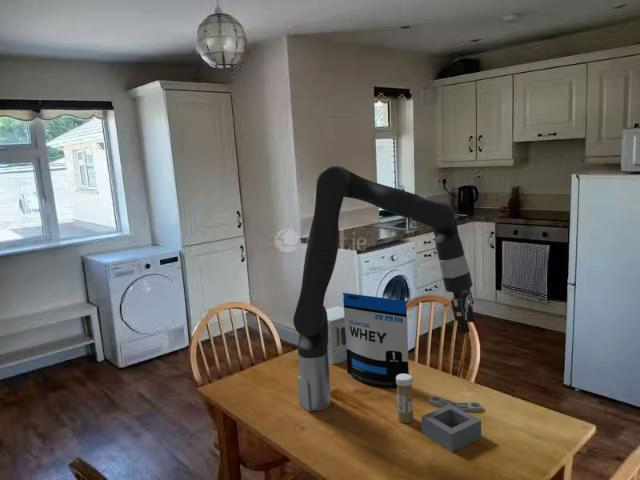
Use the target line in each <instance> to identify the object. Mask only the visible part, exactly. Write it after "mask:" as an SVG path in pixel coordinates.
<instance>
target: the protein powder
mask: <svg viewBox="0 0 640 480" xmlns="http://www.w3.org/2000/svg"><path fill="white" fill-rule="evenodd" d="M342 296H343V297H342V298H343V300H342V301H343V302H342V303H343V308H344V319H345V334H346V347H347V360H346V363H347V364H346V366H347V374H349V375H350V376H351V378H352V379H354V380H355V381H357V382H358V383H361V384H363V385H365V386H369V387H373V388H378V389H389V390H391V389H392V390H397V383H396V376H397V375H399V374H409V375H410V371H409V340H408V339H409V337H408V336H409V335H408V334H409V333H408V312H407V311H408V308H407V300H402V299H401V300H400V299H393V298H386V297H380V296H379V297H378V296H372V295H371V296H370V295H365V294H364V295H363V294H356V293H348V292H342Z"/></svg>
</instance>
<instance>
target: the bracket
mask: <svg viewBox="0 0 640 480" xmlns="http://www.w3.org/2000/svg"><path fill="white" fill-rule="evenodd" d="M428 400H429V404H430V405H432V406H435V407H440V408H442V407H445V406H447V405H449V404H451V405H453V406H455V407H457V408H459V409H461V410H463V411H464V412H473V413H477V412H481V411H482V409H483V406H482V403H479V402H477V401H468V402H457V401H452V400H449V399H446V398H443V397H442V396H438V395H433V396H430V397H429V398H428Z"/></svg>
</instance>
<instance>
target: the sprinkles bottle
mask: <svg viewBox="0 0 640 480" xmlns="http://www.w3.org/2000/svg"><path fill="white" fill-rule="evenodd" d="M396 383H397V389H396V399H397V400H396V402H397V415H398V416H397V421H398V422H400V423H403V424H409V423H412V422H413V421H414V410H413V409H414V405H413V388H412V386H413V376H412V375H411V374H410V373H409V374H399V375H397V376H396Z"/></svg>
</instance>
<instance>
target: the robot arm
mask: <svg viewBox="0 0 640 480" xmlns="http://www.w3.org/2000/svg"><path fill="white" fill-rule="evenodd" d="M315 189H316V190H315V200H314V203H315V204H314V211H313V212H314V213H313V218H312V221H311V227H310V230H309V234H308V239H307V245H306V251H305V256H304V262H303V263H304V265H303V271H302V280H301V289H300V294H299V297H298V301H297V304H296V308H295V311H294V315H293V318H292V319H293V322H292V323H293V327H294V328H295V331H296V332H297V333H298V334H299V339H298V344H297V355H298V356H297V357H298V367H299V368H298V369H299V371H298V372H299V375H298V376H297V390H298V391H297V392H298V401H299V403H298V404H299V405H300V406H301V407H302V408H303V409H305V410H306V411H307V412H308V413H309V412H318V411H323V410H326V409H328V408H329V407H330V406H331V404H332V401H331V400H332V398H331V397H332V396H331V383H330V366H329V364H330V363H328V319H327V312H326V309H327V308H326V307H325V306H324V305H325V304H324V302H325V297H326V292H327V289H328V287H329V284H330V282H331V279H332V276H333V273H334V270H335V266H336V263H337V257H338V252H339V246H340V244H339V243H340V231H339V230H340V229H339V228H340V227H339V219H340V213H341V208H342V204H343V201H344V198H350V199H355V200H358V201H362V202H364V203H368V204H370V205H373V206H374V207H378V208H379V209H381V210H384V211H385V212H388V213H391V214H393V215H396V216H400V217H403V218H406V219H409V220H410V219H411V220H413V221H417V222H418V223H420V224H423V225H425V226H427V227H430V228H432V231H433V234H434V238H435V248H436V254H437V256H438V261H439V268H440V273H441V277H442V281H443V285H444V288H445V291H446V292H448V293H452V294H453V296H452V299H450V304H451V309H452V312H453V317H454V320H455V322H458V324H459V329H460V332H461V334H469V333H470V331H471V330H470V327H469V323H474V322H475V321H476V317H475V313H474V304H475V302H474V298H473V294H472V291H471V288H472V287H473V281H472V276H471V272H470V267H469V264H468V260H467V258H466V256H465V252H464V251H465V250H464V246H463V243H462V241H461V237H460V234H459V231H458V229H459V228H458V225H457V218H456V213H455V210H454V208H453V207H452V205H451V204H449V203H447V202H443V201H441V202H437V201H435V200H434V201H433V200H431V199H425V198H424V197H422V196H420V195H418V194H416V193H413V192H410V191H406V190H403V189H400V188H396V187H393V186H388V185H384V184H381V183H378V182H375V181H372V180H369V179H367V178H364V177H361V176H359V175H358V174H356V173H354V172H352V171H350V170H348V169H347V168H345V167H343V166H339V165H333V166H327V167H325V168H324V169H323V170H321V172H320V173H319V174H318V175H317V179H316V188H315Z"/></svg>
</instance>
